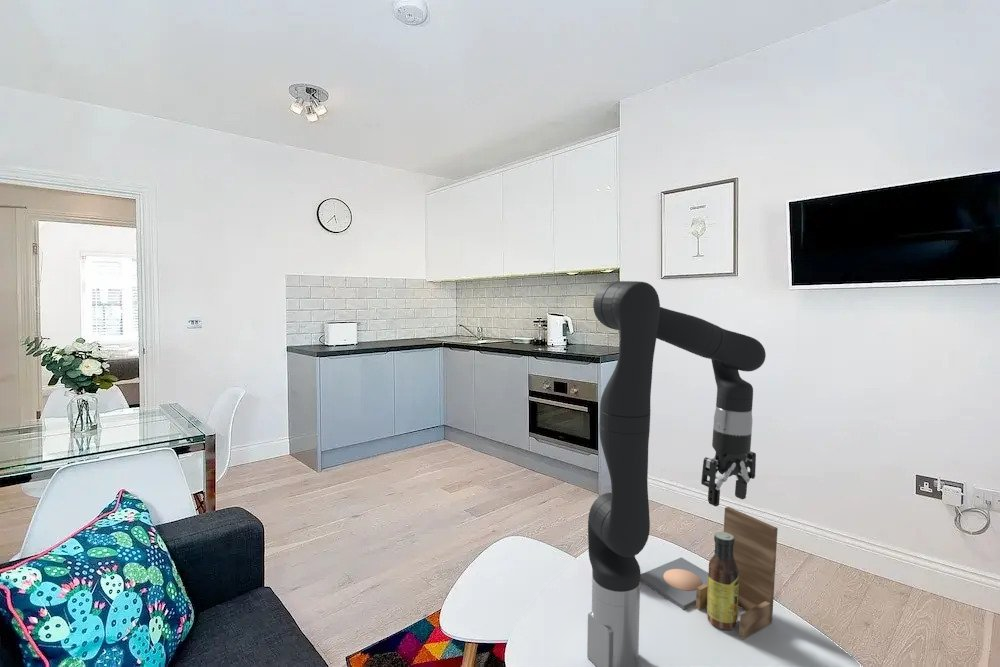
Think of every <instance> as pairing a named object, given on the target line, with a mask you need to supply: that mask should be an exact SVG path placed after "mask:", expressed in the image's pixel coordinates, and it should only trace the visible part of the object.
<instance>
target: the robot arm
mask: <svg viewBox="0 0 1000 667" xmlns="http://www.w3.org/2000/svg"><path fill="white" fill-rule="evenodd" d="M593 297H594V298H593V302H592V303H593V305H592V308H593V312H594V315H595V317H596V318H597V320H598V321H599V322H600V323H601V324H602V325H603V326H605V327H607V329H608V328H609V329H611V330H614V331H619V347H618V348H619V349H618V356H617V357H618V358H617V363H616V365H615V368H614V370H613V372H612V374H611V376H610V377H609V380H608V381H607V384H606V385H605V387H604V389H603V392H602V395H601V398H600V404H599V424H598V426H599V427H598V428H599V438H600V444H601V448H602V451H603V455H604V459H605V462H606V466H607V469H608V473H609V477H610V486H611V487H610V488H611V492H607V493H603V494H601V495H599V496H598V497H597V498H596V499H595V500H594V501H593V503H592V505H591V507H590V509H589V512H588V516H587V517H588V518H587V538H588V539H587V540H588V541H587V544H588V548H587V549H588V557H589V559H588V560H589V562H590V564H591V565H590V566H591V569H592V573H591V574H592V575H591V576H592V577H591V578H592V580H591V583H592V584H591V585H592V586H591V587H592V588H591V612H589V613H587V637H586V638H587V644H586V645H587V646H586V647H587V649H586V657H587V658H588V660H590V661H591V663H593V665H595V667H638V664H639V640H640V605H641V603H640V602H641V601H640V600H641V580H640V574H641V567H640V564H639V562H638V560H637V558H636V556H637V555H639V553H640V552H642V551H643V549H644V548H645V546H646V544H647V542H648V539H649V535H650V531H651V520H650V504H649V490H648V488H649V487H648V485H649V484H648V483H649V482H648V475H649V474H648V472H649V470H648V469H649V444H650V442H649V441H650V431H651V430H650V429H651V428H650V427H651V394H652V383H653V382H652V380H653V367H654V366H653V365H654V356H655V350H656V343H657V339H658V340H660V341H662V342H665V343H667V344H670V345H672V346H674V347H677V348H679V349H681V350H684V351H686V352H689V353H691V354H694V355H697V356H698V357H699V356H700V357H701V358H705V359H709V360H711V363H712V369H713V376H714V380H715V384H716V389H717V390H716V400H715V401H716V402H715V410H714V416H713V428H712V442H711V446H712V448H713V449H714V452H715V455H714V457H713V458H709V457H707V456H706V457H704V458H703V463H702V473H701V480H700V483H701V485H702V486H704V487H707V488H708V491H707V494H708V495H707V501H708V504H710V505H711V506H713V507H718V506H720V498H721V487H722V485H723V484H724V483H725V482H727V480H728V478H729V477H730V478H731V477H732V476H735V478H736V480H735V487H734V488H735V490H734V496H735V498H738V499H740V500H746V498H747V489H748V483H749V482H750V479H755V478H756V467H757V466H756V465H757V464H756V463H757V461H756V460H757V458H756V457H757V454H756V452H753V451H751V449H752V448H751V447H752V446H751V445H752V433H753V403H754V402H753V400H754V388H753V385H752V384H751V383H750V382H748V381H746V380H745V379H744V378H742V377H741V376H740V373H739V372H740V371H741V372H753V371H756V370H759V369H760V368H761V367H762V366H763V365H764V363H765V360H766V356H767V355H766V353H767V352H766V349H765V347H764V345H763V344H762V343H761V342H760V341H759V339H758V340H757V339H756V338H755V337H752V336H749V335H745V334H742V333H739V332H736V331H732V330H728V329H726V328H722V327H721V326H719V325H716V324H714V323H712V322H710V321H707V320H705V319H703V318H700V317H698V316H695V315H690V314H687V313H684V312H679V311H675V310H672V309H668V308H666V307H662V306H661V304H660V298H659V295H658V292H657V290H656V288H654V286H653V285H652V284H650V283H649V282H645V281H630V280H629V281H628V280H627V281H626V280H625V281H624V280H621V281H620V280H619V281H612V282H609V283H606V284H604V285H602V286H601V287H600V288H599V289H598V290H597V291H596V293H595V296H593ZM748 469H749V470H748ZM708 477H709V478H708ZM716 479H717V480H716Z"/></svg>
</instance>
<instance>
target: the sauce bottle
mask: <svg viewBox="0 0 1000 667" xmlns="http://www.w3.org/2000/svg"><path fill="white" fill-rule="evenodd" d="M713 540H714V551H713V552H714V554H713V556H711V558H710V559H709V561H708V591H707V607H706V613H707V621H708V622H709V624H711V625H712V626H713V627H716V628H717V629H719V630H720V629H721V630H726V631H730V630H733V629H734V628H735V627H736V626H737V621H738V616H739V611H738V610H739V606H738V592H739V571H738V568H737V565H736V562H735V559H734V555H733V545H734V542H735V541H734V536H733V535H731V534H729V533H726V532H724V531H717V532H715V533H714V537H713Z"/></svg>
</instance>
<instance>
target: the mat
mask: <svg viewBox="0 0 1000 667" xmlns="http://www.w3.org/2000/svg"><path fill="white" fill-rule="evenodd" d="M708 573H709V571H706V570H704V569H702V568H701V567H699V566H697V565H696V564H694V563H692V562H691V561H689V560H687V559H685V558H684V557H679V558H676V559H673V560H672V561H669V562H667V563H664V564H662V565H660V566H657V567H654V568H653V569H650V570H646V571H645V572H642V573H640V582H642V583H644V584H645V585H646V586H648V587H649V588H651V589H652V590H654V591H655V592H657V593H658V594H659V595H661V596H662V597H664V598H665V599H667V600H669V601H670V602H671V603H673V604H674V605H675V606H677V607H678V608H680V609H681V610H685V609H688V608H690V607H692V606H694V605H696V590H697V587H699V586H701V585H703V584H705V583H708Z"/></svg>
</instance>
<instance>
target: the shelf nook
mask: <svg viewBox="0 0 1000 667" xmlns="http://www.w3.org/2000/svg"><path fill="white" fill-rule="evenodd" d="M723 515H724V516H723V517H724V518H723V519H724V521H723V532H726V533H729V534H731V535H733V536H734V541H735V542H734V545H733V555H734V559H735V562H736V565H737V568H738V571H739V592H738V608H740V609H743V610H744V611H745V612H743V613H741V614H740V615H739V631H738V634H739V636H738V637H739V638H740V639H741V640H745V639H747V638H749V637H751V636H752V635H754V634H755V633H757V632H759V631H761V630H763V629H764V628H766V627H768V626H770V625H771V624H773V614H774V613H773V612H774V598H775V597H774V596H775V594H774V593H775V592H774V591H775V582H776V581H775V578H776V564H777V563H776V562H777V561H776V560H777V546H778V544H777V542H778V531H779V530H778V527H776V526H774V525H771V524H769V523H766V522H764V521H762V520H760V519H758V518H755V517H753V516H751V515H748V514H746V513H743V512H741V511H739V510H737V509H735V508H733V507H730V506H726V507H724V514H723ZM707 591H708V583H705V584H703V585H701V586H699V587H697V590H696V604H695V609H697V610H698V611H701V610H703V609H705V608H707Z"/></svg>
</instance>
